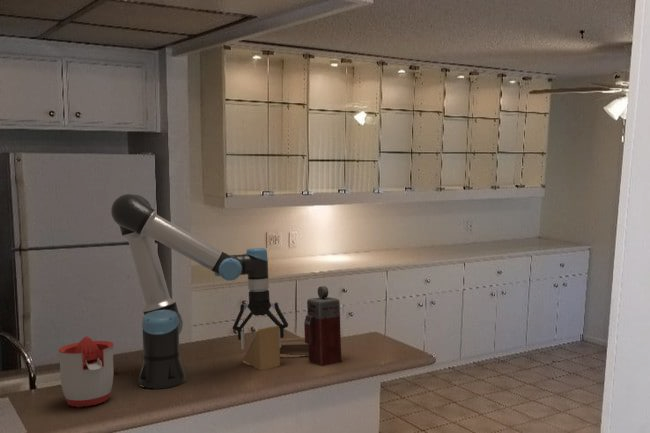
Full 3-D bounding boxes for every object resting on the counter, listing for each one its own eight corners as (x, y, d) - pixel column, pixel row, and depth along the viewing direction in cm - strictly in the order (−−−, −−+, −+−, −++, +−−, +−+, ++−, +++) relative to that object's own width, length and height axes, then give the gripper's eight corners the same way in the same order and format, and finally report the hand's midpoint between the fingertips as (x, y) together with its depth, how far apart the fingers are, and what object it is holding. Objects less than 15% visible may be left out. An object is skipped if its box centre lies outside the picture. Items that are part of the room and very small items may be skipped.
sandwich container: (260, 358, 228) (259, 319, 228) (281, 366, 215) (279, 325, 215) (240, 362, 223) (239, 322, 223) (260, 371, 210) (258, 328, 210)
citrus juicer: (68, 415, 168) (66, 345, 168) (55, 401, 182) (52, 336, 182) (124, 403, 178) (121, 337, 177) (107, 390, 192) (105, 329, 191)
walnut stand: (327, 356, 227) (327, 343, 227) (278, 358, 227) (277, 345, 227) (327, 349, 239) (327, 337, 239) (280, 350, 239) (280, 338, 239)
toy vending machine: (303, 362, 220) (300, 286, 220) (328, 357, 226) (326, 284, 226) (315, 367, 212) (313, 289, 212) (341, 362, 218) (339, 286, 218)
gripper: (293, 287, 221) (296, 343, 221) (226, 290, 221) (229, 346, 222) (292, 289, 214) (294, 348, 214) (223, 293, 214) (225, 351, 214)
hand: (261, 347), depth 218 cm, fingers open, 13 cm apart
